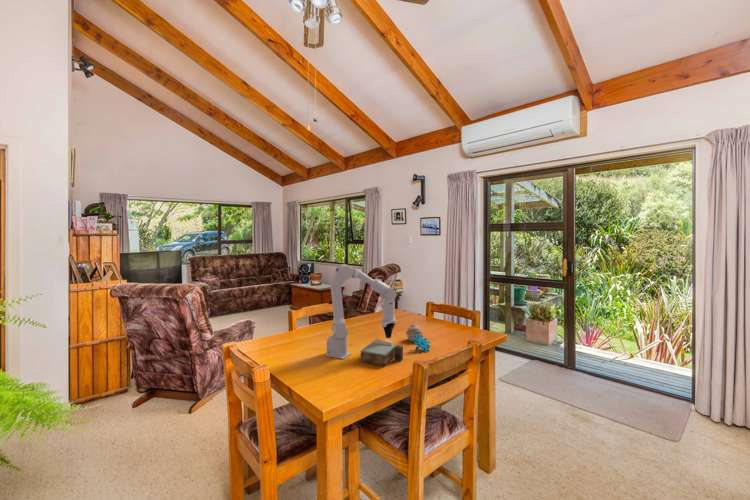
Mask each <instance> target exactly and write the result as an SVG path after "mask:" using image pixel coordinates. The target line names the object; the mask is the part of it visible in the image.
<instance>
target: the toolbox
mask: <svg viewBox="0 0 750 500" xmlns="http://www.w3.org/2000/svg"><path fill="white" fill-rule="evenodd" d="M394 359H395V348H394V349H393V350H392V351H390V352H389V353H388V354H387V355H386V356H380V355H375V354H369V353H363V352H361V351H360V363H363V364H367V365H374V366H380V367H383V368H385V367H386V366H387V365H388V364H390V362H391V361H393V360H394Z"/></svg>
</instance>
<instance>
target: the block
mask: <svg viewBox="0 0 750 500" xmlns="http://www.w3.org/2000/svg"><path fill="white" fill-rule="evenodd" d="M403 358H404V346H403V345H398V344H396V347H395V358H394V361H395V362H402V361H403V360H404V359H403Z"/></svg>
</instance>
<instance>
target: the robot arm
mask: <svg viewBox="0 0 750 500" xmlns="http://www.w3.org/2000/svg"><path fill="white" fill-rule="evenodd" d="M350 279H360V280H361V281H362V282H365V283H366V284H368V285H369V286H370V289H371V290H372V291H374V292H375V293H377V294H379V295H381V296H382V297H383V302H382V306H383V307H382V313H383V314H382V322H381V324H380V325H381V328H383V330H384V334H385V338H386V339H391V337H392V333H393V330H394V328H395V326H396V323H397V322H398V321H397V319H396V316H395V312H396V311H395V307H396V305H395V304H396V302H395V301H396V300H395V299H396V297H397V295H398V294H397V291H396V290H395V288H393V287H390V285H389V284H386V283H385V282H383V280H382V279H381V278H379V279H378V278H374V279H373V278H371V277H370V276H369V275H367V274H366V273H364V272H363V271H361V270H359V269H357V268H355V267H353V266H351V265H348V264H346V263H342V264H339V265H338V266H337V267H336V268H335V269H334V273H333V275H332V277H331V279H330V281H329V282H330V284H329V285H330V294H331V303H332V313H333V314H332V315H333V318H332V324H331V325H332V326H331V330H332V333H333V334H332V335H329V336H328V338H327V340H326V354H325V356H326V357H328V358H329V357H330V358H335V359H339V360H340V359H341V360H344V359H345V358H347V357H348V356H350V355H351V352H349V351H348V334H349V330H348V328H347V326H346V320H345V315H344V306H343V294H342V285H343V284H344V283H345V282H346V281H348V280H350Z"/></svg>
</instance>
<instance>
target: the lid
mask: <svg viewBox="0 0 750 500" xmlns="http://www.w3.org/2000/svg"><path fill="white" fill-rule="evenodd" d="M396 346H397V344H396V343H395V344H394V341H392V340H386V339H379V338H375V339H374V341H372V342H371V343H369V344H368V345H366V346H365V347H364V348H362V349H361V350H360V353H361V352H363V353H369V354H375V355H380V356H386V355H387V354H388V353H389V352H390V351H392V350H393V349H394V348H395V347H396Z"/></svg>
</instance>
